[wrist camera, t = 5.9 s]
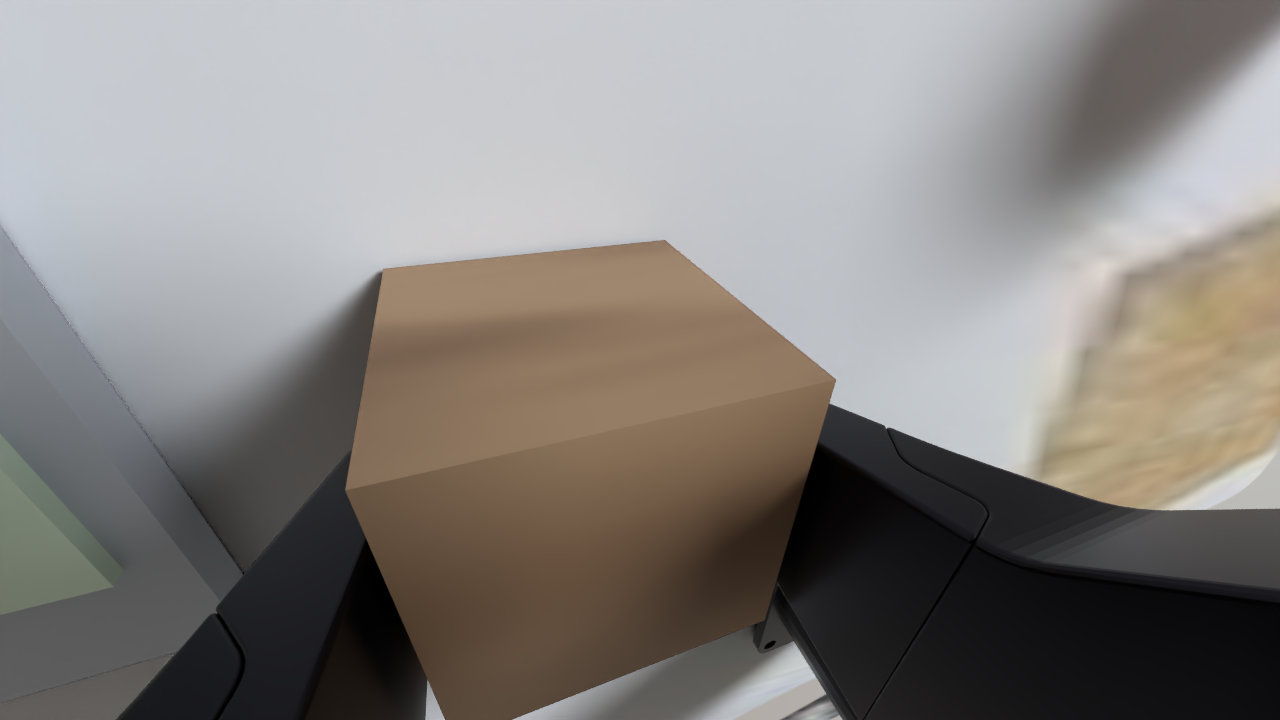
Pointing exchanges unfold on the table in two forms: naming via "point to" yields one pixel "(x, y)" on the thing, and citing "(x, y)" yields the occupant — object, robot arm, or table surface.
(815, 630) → the robot arm
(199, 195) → the table surface
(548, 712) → the table surface
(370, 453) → the walnut block
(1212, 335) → the table surface
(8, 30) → the table surface
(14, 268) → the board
